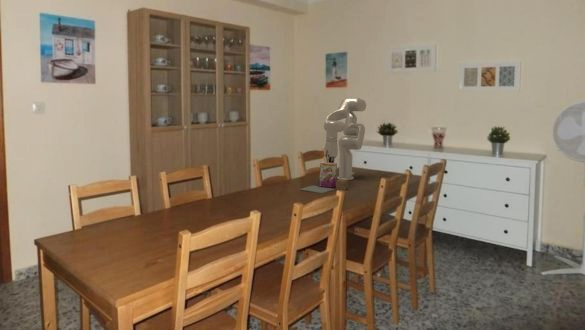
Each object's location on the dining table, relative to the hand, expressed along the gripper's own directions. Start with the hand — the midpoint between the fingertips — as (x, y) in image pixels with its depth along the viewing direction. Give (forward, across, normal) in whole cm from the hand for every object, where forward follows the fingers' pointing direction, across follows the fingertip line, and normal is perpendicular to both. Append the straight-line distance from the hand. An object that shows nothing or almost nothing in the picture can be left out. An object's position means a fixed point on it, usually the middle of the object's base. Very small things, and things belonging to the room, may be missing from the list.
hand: (331, 166), depth 301 cm
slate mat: (+13, +16, 0) cm, 21 cm away
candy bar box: (+13, +5, 0) cm, 14 cm away
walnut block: (+13, +4, +11) cm, 18 cm away
